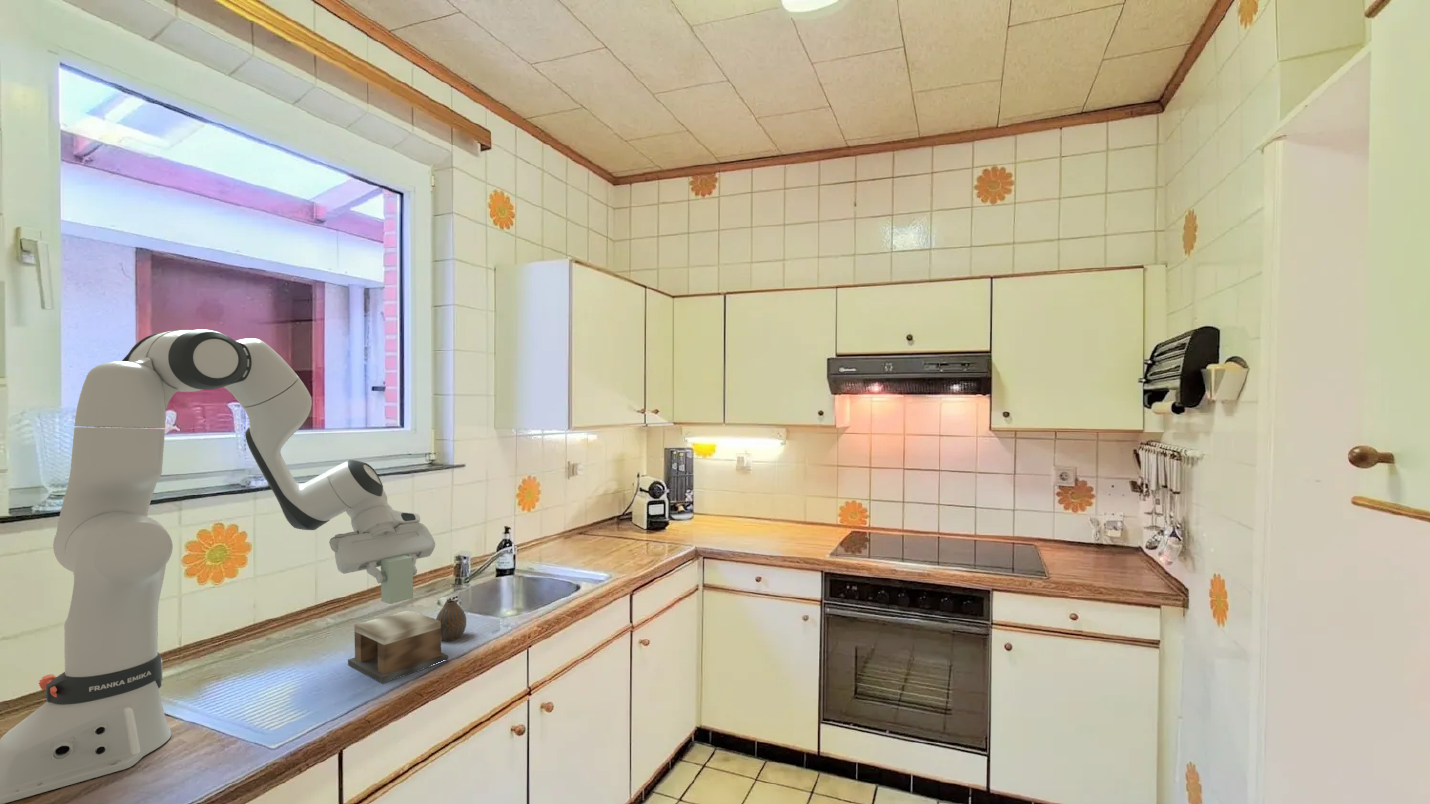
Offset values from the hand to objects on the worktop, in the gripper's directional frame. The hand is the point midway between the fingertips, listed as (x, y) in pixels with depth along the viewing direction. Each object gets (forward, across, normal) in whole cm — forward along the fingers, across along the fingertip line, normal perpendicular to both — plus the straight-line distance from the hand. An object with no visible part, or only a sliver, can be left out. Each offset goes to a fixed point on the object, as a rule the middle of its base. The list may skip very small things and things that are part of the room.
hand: (398, 577), depth 137 cm
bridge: (+13, 0, +14) cm, 19 cm away
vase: (+9, +15, +17) cm, 25 cm away
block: (+3, 0, +4) cm, 5 cm away
